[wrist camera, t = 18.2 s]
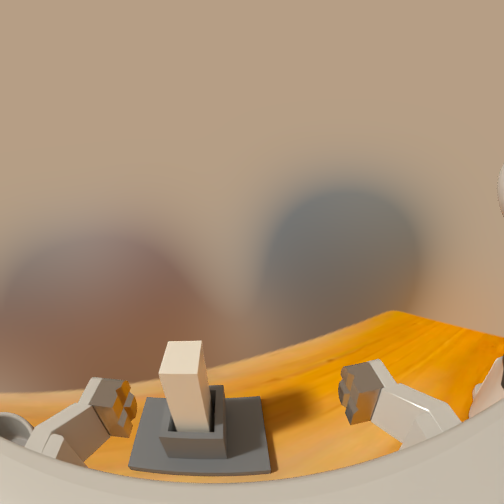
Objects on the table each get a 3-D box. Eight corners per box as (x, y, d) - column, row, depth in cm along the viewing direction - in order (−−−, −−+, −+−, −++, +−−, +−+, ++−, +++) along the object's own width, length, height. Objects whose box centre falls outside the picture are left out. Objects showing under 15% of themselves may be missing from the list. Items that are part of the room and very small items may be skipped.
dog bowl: (-27, 438, 20) (-43, 416, 18) (49, 421, 31) (35, 398, 29) (-20, 516, 7) (-44, 496, 6) (75, 502, 18) (54, 483, 17)
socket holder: (260, 400, 40) (259, 373, 39) (270, 473, 27) (271, 450, 25) (148, 401, 39) (139, 374, 38) (130, 469, 26) (114, 445, 24)
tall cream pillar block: (214, 417, 36) (201, 340, 32) (213, 449, 30) (197, 373, 26) (187, 417, 36) (168, 341, 32) (183, 448, 30) (158, 373, 26)
